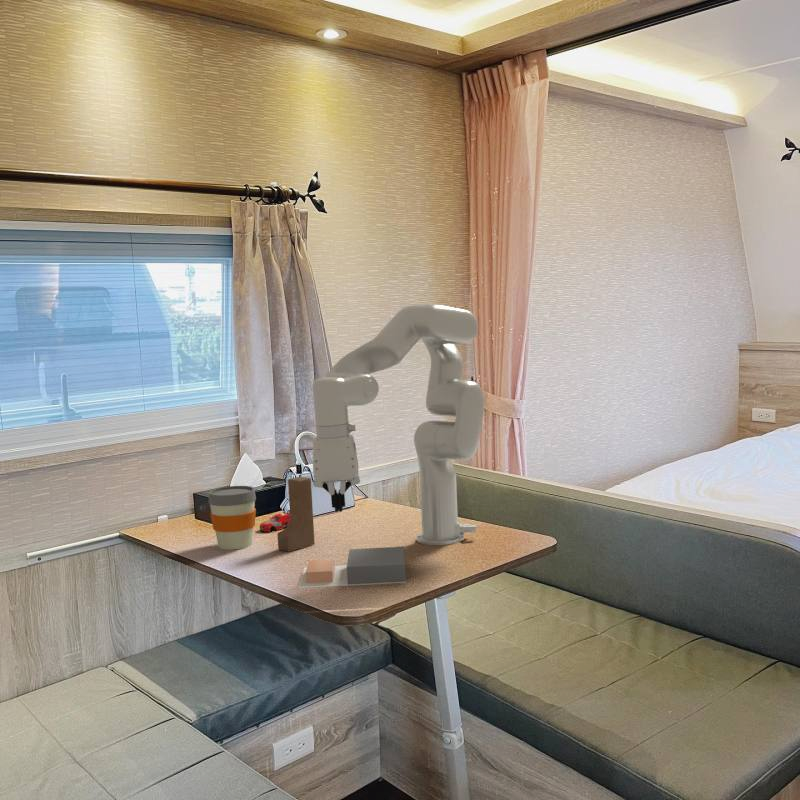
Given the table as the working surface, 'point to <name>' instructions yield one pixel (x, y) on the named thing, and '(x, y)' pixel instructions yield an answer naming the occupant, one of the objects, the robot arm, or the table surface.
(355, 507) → the table surface
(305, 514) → the wooden block
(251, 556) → the table surface
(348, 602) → the table surface
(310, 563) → the tile
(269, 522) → the race car
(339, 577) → the mat
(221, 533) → the reusable coffee cup
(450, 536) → the robot arm
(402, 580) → the grey flat block
